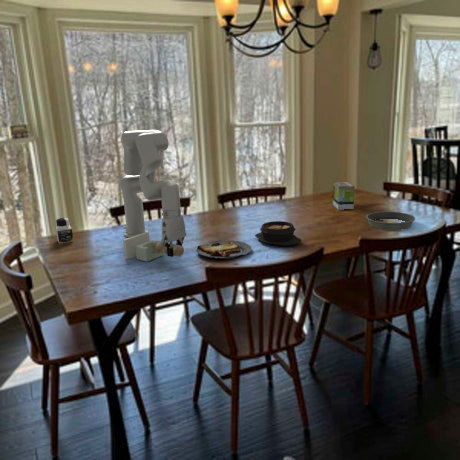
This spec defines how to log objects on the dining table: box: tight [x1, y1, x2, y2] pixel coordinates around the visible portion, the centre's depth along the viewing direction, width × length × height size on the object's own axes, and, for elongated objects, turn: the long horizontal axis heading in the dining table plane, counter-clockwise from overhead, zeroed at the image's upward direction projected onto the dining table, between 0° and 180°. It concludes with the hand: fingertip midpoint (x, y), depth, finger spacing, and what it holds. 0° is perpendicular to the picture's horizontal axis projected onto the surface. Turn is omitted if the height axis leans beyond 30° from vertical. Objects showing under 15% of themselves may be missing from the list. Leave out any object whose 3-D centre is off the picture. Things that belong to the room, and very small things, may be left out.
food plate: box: [196, 239, 252, 259], centre depth 206 cm, size 25×23×4 cm
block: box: [135, 239, 164, 262], centre depth 202 cm, size 6×10×6 cm, turn 143°
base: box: [122, 231, 150, 260], centre depth 206 cm, size 2×14×9 cm, turn 143°
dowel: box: [153, 240, 185, 258], centre depth 194 cm, size 14×5×5 cm, turn 53°
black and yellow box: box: [55, 217, 74, 244], centre depth 231 cm, size 7×7×12 cm
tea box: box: [332, 181, 356, 211], centre depth 278 cm, size 15×10×15 cm, turn 179°
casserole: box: [254, 220, 302, 247], centre depth 217 cm, size 25×19×8 cm
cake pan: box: [365, 211, 416, 231], centre depth 238 cm, size 25×25×4 cm
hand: (175, 254), depth 192 cm, fingers closed on dowel, 4 cm apart
